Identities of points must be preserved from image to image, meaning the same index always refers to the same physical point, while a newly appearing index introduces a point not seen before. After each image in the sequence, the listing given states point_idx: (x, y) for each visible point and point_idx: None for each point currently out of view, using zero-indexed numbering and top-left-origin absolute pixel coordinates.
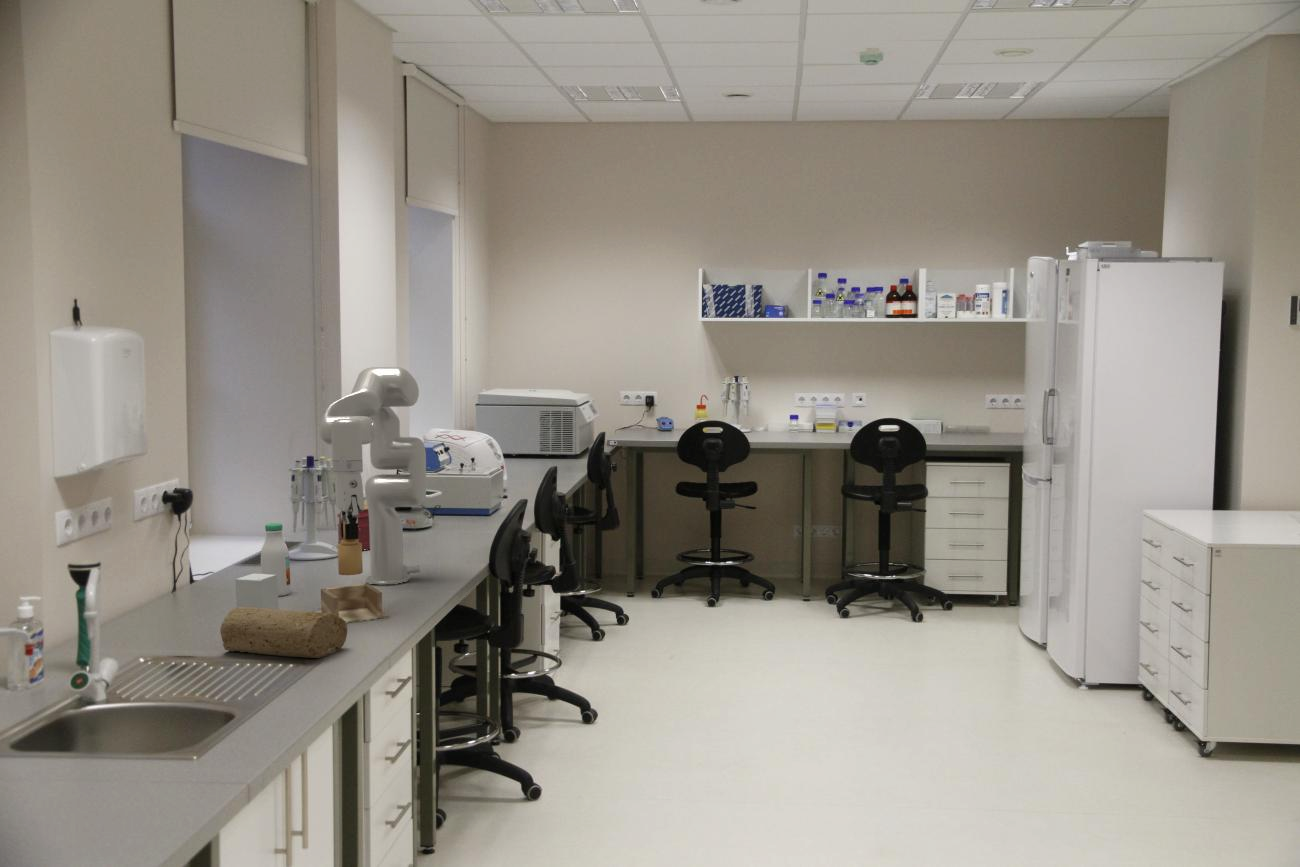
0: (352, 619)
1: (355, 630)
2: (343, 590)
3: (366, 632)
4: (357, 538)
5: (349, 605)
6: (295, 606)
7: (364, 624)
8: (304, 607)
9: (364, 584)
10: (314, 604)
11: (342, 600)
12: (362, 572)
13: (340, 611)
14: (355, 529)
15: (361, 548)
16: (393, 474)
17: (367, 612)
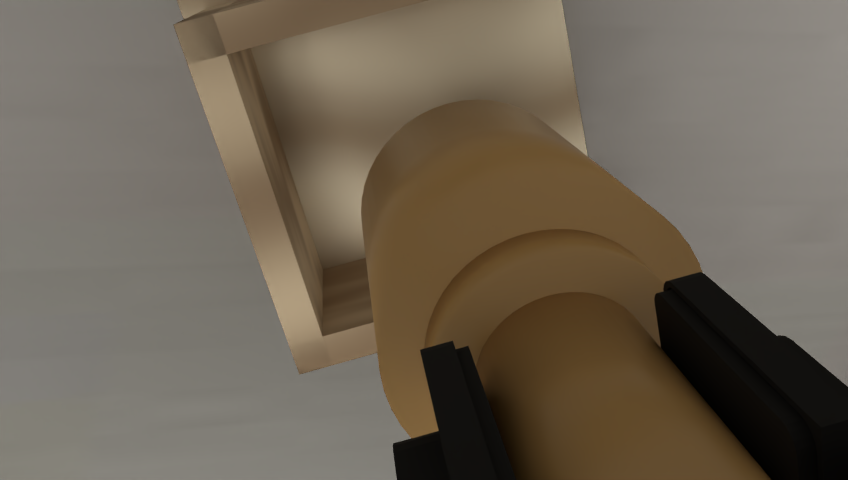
0: (568, 123)
1: (770, 105)
2: (284, 215)
3: (844, 44)
4: (694, 279)
5: (279, 146)
6: (54, 443)
7: (653, 50)
8: (92, 395)
9: (200, 54)
10: (13, 348)
11: (291, 201)
12: (497, 101)
13: (325, 195)
14: (843, 389)
15: (586, 170)
16: None
17: (408, 24)
